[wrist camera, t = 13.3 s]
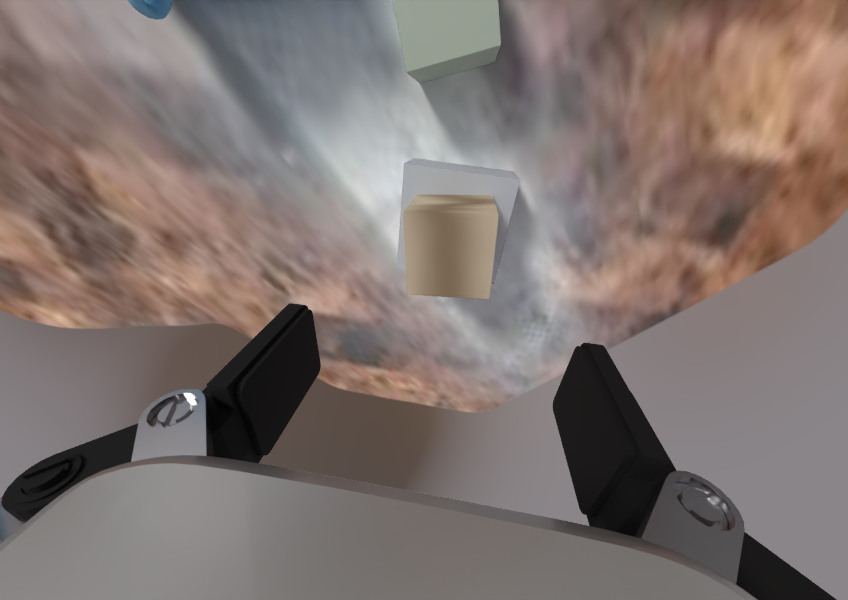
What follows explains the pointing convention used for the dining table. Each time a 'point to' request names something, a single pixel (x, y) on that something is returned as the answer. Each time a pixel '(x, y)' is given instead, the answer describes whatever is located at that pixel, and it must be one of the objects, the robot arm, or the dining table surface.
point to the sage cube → (447, 35)
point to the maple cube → (450, 245)
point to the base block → (459, 193)
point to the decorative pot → (152, 7)
